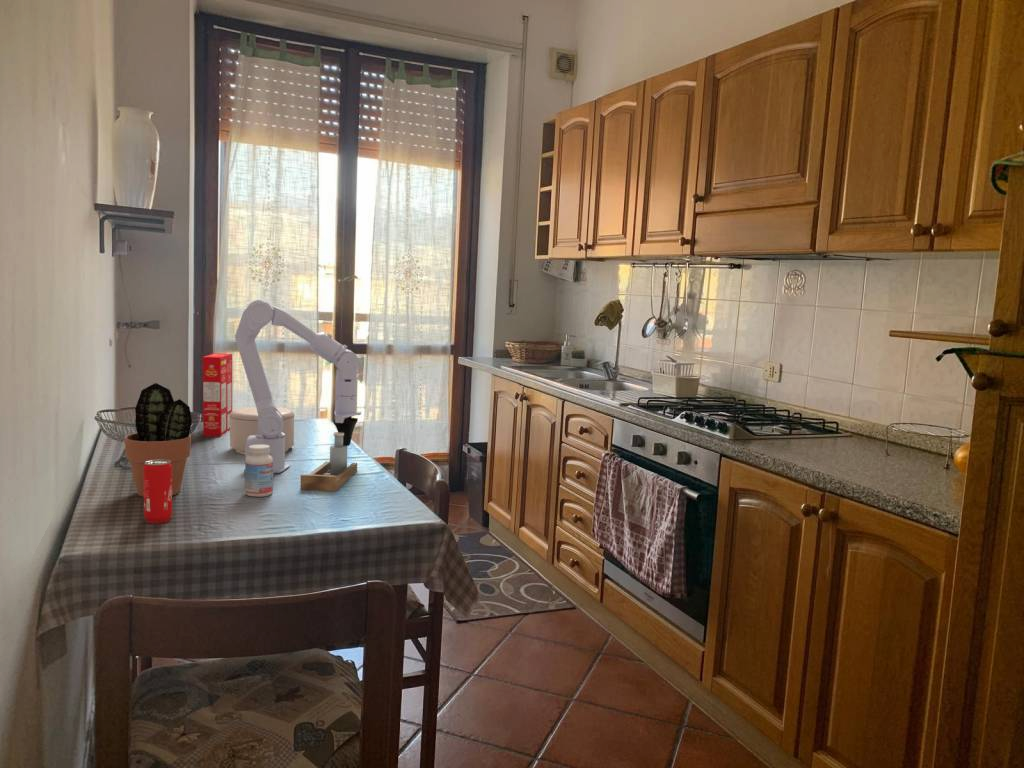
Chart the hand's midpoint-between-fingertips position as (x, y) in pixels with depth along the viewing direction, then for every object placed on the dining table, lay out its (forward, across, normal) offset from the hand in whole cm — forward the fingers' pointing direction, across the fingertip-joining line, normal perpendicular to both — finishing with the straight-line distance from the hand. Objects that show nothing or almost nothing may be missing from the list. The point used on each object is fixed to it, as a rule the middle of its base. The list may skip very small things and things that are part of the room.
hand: (345, 445), depth 207 cm
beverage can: (+6, -54, +24) cm, 59 cm away
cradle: (+6, -14, 0) cm, 15 cm away
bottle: (+6, -7, 0) cm, 9 cm away
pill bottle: (+6, -31, +12) cm, 34 cm away
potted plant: (+6, -34, +34) cm, 48 cm away
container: (+6, +17, +29) cm, 34 cm away
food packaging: (+6, +40, +52) cm, 66 cm away
